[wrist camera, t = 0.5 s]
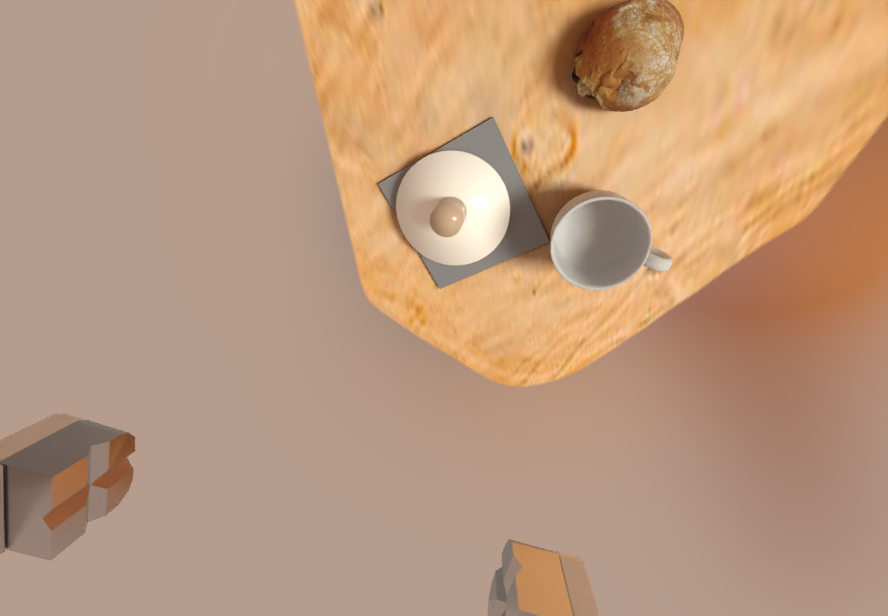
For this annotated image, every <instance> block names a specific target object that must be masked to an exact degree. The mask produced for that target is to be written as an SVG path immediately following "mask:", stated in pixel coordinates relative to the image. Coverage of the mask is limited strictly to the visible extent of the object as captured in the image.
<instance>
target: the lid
mask: <svg viewBox="0 0 888 616" xmlns="http://www.w3.org/2000/svg"><path fill="white" fill-rule="evenodd" d="M396 212H397V218H398V222H399V225H400V228H401V230H402V232H403V234H404V236H405V237H406V239H407V240H408V242H409V243H410V244H411V245H412V246H413V248H415V249H416V250H417V251H418V252H419V253H420V254H422V255H423V256H425V257H427V258H428V259H430V260H433V261H435V262H438V263H441V264H446V265H466V264H470V263H473V262H476V261H478V260H480V259H482V258H484V257H486V256H487V255H489V254H490V253H491V252H492V251H493V250H494V249H495V248H496V247H497V246H498V245H499V243H500V242H501V240H502V239H503V237H504V235H505V233H506V230H507V227H508V224H509V218H510V198H509V194H508V190H507V188H506V185H505V183H504V181H503V179H502V177H501V176H500V175H499V173H498V172H497V171H496V169H495V168H494V167H493V166H492V165H491V164H489V163H488V162H487V161H486V160H484V159H482V158H481V157H479V156H477V155H475V154H472V153H470V152H466V151H462V150H443V151H438V152H435V153H432V154H430V155H428V156H426V157H424V158H422V159H421V160H420V161H418V162H417V163H416V164H415V165H413V166H412V167H411V168H410V170H409V171H408V172H407V173H406V175H405V176H404V178H403V180H402V182H401V184H400V186H399V189H398V193H397V199H396Z"/></svg>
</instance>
